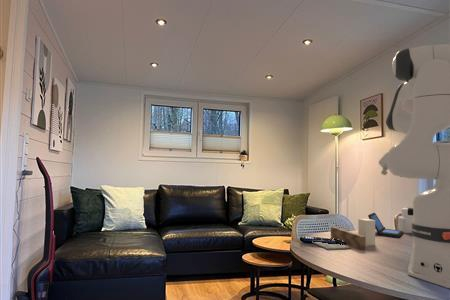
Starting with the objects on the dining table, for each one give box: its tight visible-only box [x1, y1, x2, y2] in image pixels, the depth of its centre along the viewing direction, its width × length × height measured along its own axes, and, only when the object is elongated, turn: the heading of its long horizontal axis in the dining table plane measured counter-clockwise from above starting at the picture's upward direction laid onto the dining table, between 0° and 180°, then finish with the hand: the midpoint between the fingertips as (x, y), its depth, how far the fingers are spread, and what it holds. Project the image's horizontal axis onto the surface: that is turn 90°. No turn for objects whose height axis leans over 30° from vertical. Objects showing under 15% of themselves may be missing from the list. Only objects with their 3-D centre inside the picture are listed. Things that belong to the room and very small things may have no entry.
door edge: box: [330, 226, 366, 251], centre depth 129 cm, size 20×2×5 cm, turn 14°
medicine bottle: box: [397, 207, 413, 234], centre depth 158 cm, size 7×7×12 cm
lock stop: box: [357, 218, 376, 247], centre depth 129 cm, size 4×4×10 cm
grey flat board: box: [311, 239, 352, 251], centre depth 125 cm, size 12×10×1 cm
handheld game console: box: [367, 212, 404, 239], centre depth 152 cm, size 16×13×9 cm
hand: (391, 175), depth 135 cm, fingers open, 8 cm apart
